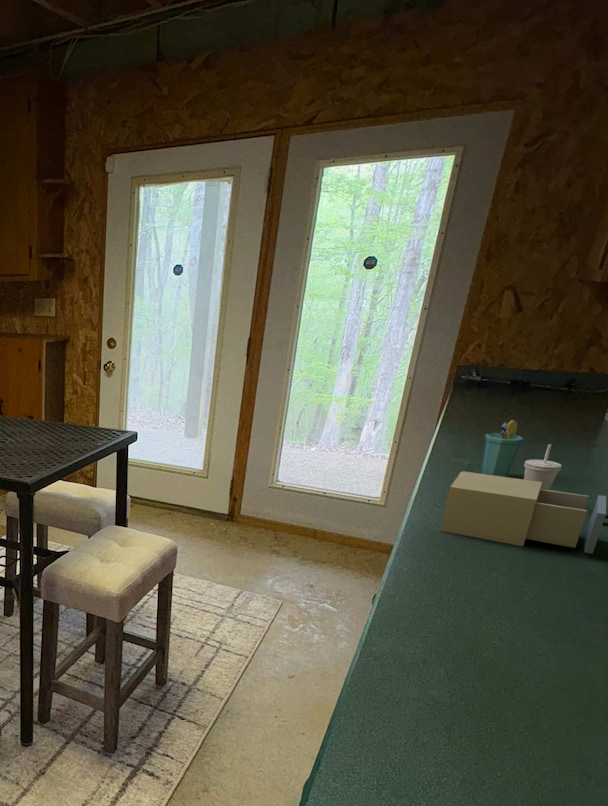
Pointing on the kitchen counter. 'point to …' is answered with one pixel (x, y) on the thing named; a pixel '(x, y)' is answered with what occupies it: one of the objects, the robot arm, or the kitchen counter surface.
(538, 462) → the smoothie
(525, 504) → the tan drawer cabinet
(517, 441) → the cup
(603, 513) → the drawer
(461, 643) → the kitchen counter surface
